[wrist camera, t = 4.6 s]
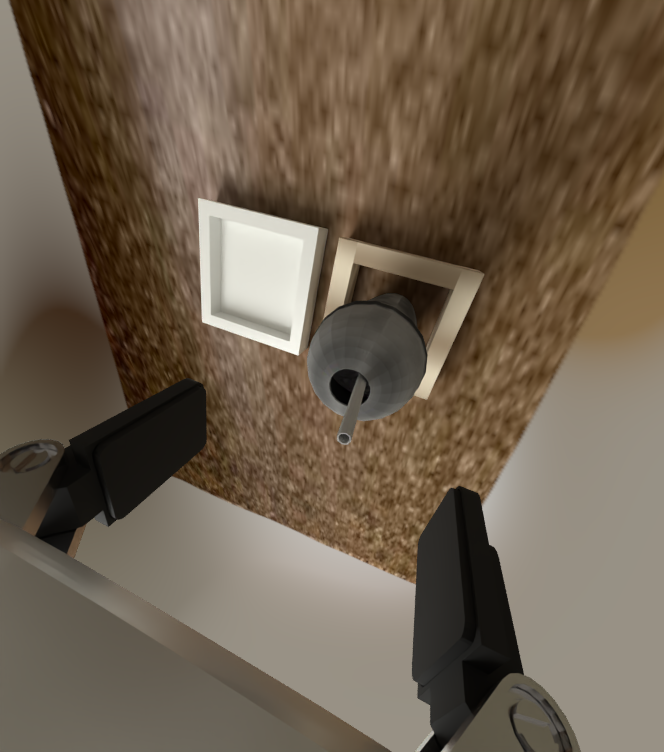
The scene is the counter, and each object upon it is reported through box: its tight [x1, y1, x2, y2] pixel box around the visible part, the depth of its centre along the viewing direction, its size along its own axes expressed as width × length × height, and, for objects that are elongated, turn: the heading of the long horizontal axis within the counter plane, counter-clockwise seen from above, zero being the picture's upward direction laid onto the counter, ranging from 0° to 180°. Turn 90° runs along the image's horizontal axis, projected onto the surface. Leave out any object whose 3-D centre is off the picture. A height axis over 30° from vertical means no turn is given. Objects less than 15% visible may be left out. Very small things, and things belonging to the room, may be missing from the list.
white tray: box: [198, 198, 328, 355], centre depth 28 cm, size 12×12×2 cm
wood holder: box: [323, 238, 485, 400], centre depth 26 cm, size 12×12×3 cm
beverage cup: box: [307, 293, 428, 444], centre depth 18 cm, size 7×7×20 cm
